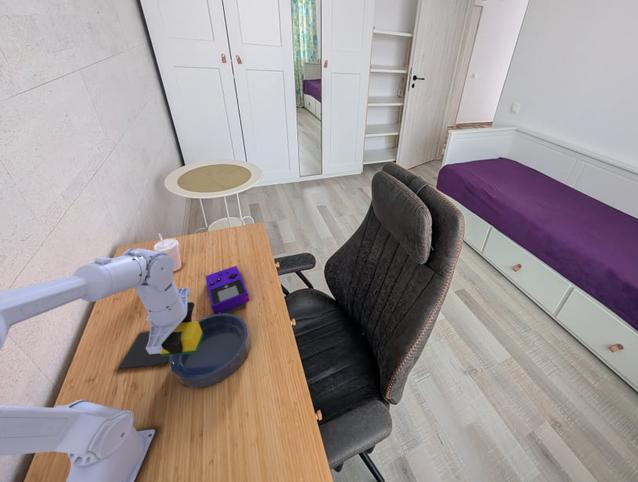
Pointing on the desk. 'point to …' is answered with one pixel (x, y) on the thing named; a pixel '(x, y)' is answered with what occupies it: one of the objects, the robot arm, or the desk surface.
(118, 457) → the robot arm
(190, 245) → the desk surface
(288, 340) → the desk surface
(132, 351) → the mat
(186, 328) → the sponge
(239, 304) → the handheld gaming console
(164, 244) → the smoothie
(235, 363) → the bowl
